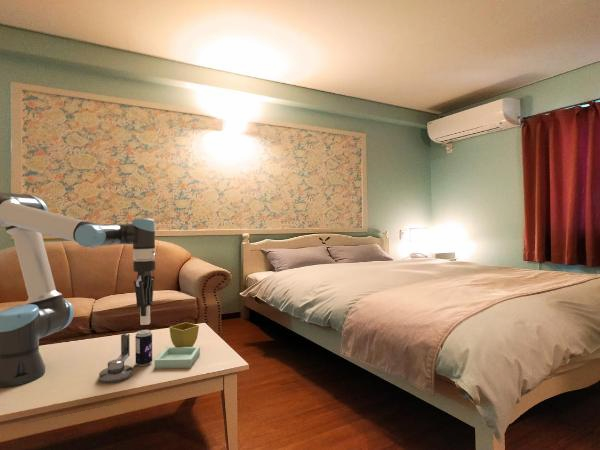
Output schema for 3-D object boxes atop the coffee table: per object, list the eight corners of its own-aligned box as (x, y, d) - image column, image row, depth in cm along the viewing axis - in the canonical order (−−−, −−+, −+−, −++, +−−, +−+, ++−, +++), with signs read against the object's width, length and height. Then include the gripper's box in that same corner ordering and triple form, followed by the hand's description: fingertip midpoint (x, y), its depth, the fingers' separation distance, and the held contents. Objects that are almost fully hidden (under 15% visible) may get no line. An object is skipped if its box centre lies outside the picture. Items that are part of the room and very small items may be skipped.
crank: (121, 373, 117) (121, 346, 117) (105, 374, 116) (105, 347, 116) (133, 356, 131) (133, 332, 131) (119, 357, 130) (119, 333, 130)
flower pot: (199, 346, 149) (199, 325, 149) (182, 352, 141) (182, 330, 141) (185, 342, 153) (185, 322, 153) (168, 348, 146) (168, 327, 146)
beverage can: (145, 367, 127) (145, 334, 127) (132, 366, 128) (132, 333, 128) (155, 361, 132) (155, 329, 132) (142, 360, 133) (142, 328, 133)
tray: (154, 368, 126) (154, 360, 126) (166, 355, 139) (166, 347, 139) (191, 367, 126) (191, 359, 126) (199, 354, 139) (199, 346, 139)
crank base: (92, 383, 113) (92, 376, 113) (108, 371, 123) (108, 364, 123) (124, 383, 114) (124, 376, 114) (137, 370, 124) (137, 364, 124)
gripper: (147, 261, 123) (148, 329, 123) (161, 258, 137) (162, 318, 137) (125, 262, 122) (126, 329, 122) (141, 258, 136) (142, 319, 136)
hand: (145, 323), depth 129 cm, fingers closed
